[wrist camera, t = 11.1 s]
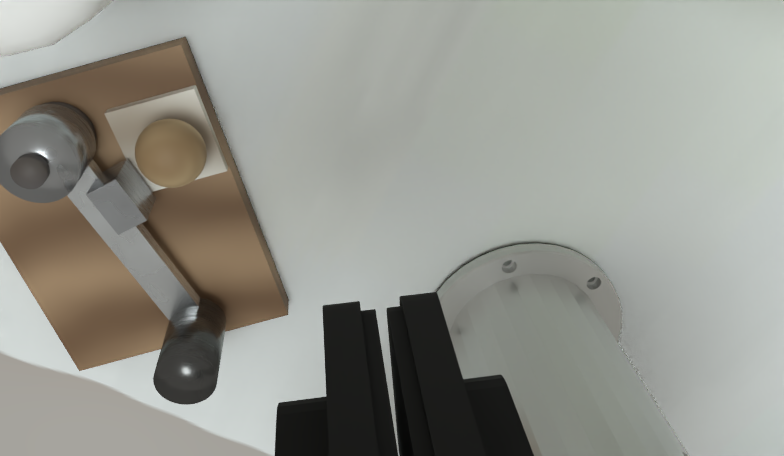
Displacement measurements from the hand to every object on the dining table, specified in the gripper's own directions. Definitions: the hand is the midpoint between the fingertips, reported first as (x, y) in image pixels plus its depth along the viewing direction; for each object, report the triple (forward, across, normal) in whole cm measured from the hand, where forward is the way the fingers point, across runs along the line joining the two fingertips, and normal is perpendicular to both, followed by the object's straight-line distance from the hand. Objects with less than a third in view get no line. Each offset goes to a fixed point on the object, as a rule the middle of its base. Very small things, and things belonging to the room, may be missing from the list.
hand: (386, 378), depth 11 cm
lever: (+25, +11, +10) cm, 29 cm away
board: (+27, +12, +10) cm, 31 cm away
